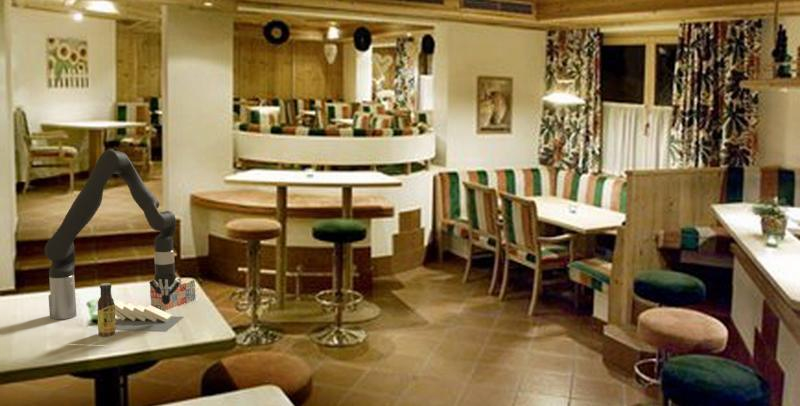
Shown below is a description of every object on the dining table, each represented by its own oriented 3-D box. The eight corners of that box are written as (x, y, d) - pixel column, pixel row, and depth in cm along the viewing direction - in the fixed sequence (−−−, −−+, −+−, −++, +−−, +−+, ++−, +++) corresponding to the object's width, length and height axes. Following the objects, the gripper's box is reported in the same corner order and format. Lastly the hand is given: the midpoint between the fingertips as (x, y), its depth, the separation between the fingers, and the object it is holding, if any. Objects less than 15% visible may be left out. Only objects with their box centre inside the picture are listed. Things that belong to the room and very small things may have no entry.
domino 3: (144, 321, 304) (122, 309, 304) (149, 317, 308) (127, 305, 309) (145, 318, 303) (124, 306, 303) (151, 314, 308) (129, 302, 308)
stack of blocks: (184, 298, 339) (183, 271, 337) (195, 299, 336) (194, 272, 334) (150, 311, 320) (149, 282, 318) (162, 313, 317) (161, 284, 315)
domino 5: (165, 322, 303) (143, 312, 303) (170, 318, 308) (148, 308, 308) (167, 318, 302) (144, 308, 303) (172, 315, 307) (149, 305, 308)
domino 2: (133, 321, 304) (112, 307, 304) (138, 317, 309) (118, 304, 309) (135, 318, 304) (114, 304, 304) (140, 314, 309) (120, 300, 309)
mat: (103, 330, 294) (103, 329, 294) (125, 315, 313) (125, 314, 312) (165, 332, 292) (165, 331, 291) (184, 317, 310) (184, 316, 310)
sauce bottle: (105, 338, 284) (102, 287, 281) (94, 335, 288) (91, 285, 284) (120, 334, 290) (117, 283, 287) (109, 331, 293) (106, 281, 290)
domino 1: (123, 320, 304) (103, 305, 304) (128, 317, 309) (109, 301, 309) (125, 318, 304) (105, 302, 304) (130, 314, 309) (111, 298, 309)
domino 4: (155, 322, 303) (132, 311, 303) (160, 318, 308) (138, 307, 308) (156, 318, 303) (134, 307, 303) (161, 314, 308) (139, 304, 308)
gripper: (184, 259, 304) (185, 301, 307) (152, 259, 306) (154, 300, 308) (177, 264, 297) (178, 307, 300) (144, 263, 298) (146, 305, 301)
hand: (166, 303), depth 304 cm, fingers closed
